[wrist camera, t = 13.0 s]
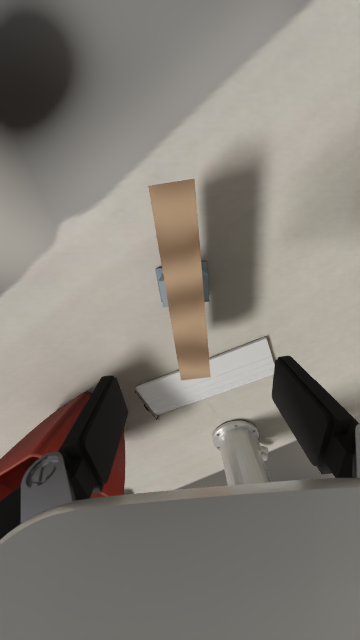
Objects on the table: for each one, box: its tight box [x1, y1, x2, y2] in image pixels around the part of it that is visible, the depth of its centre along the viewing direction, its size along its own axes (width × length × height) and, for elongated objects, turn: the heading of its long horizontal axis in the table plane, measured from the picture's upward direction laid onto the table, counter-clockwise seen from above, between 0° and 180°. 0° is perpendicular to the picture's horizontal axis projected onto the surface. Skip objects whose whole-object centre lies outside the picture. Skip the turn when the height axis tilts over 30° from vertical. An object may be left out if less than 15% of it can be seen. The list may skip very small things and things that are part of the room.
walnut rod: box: [149, 179, 211, 380], centre depth 24 cm, size 24×4×5 cm, turn 8°
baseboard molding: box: [135, 337, 275, 420], centre depth 42 cm, size 31×3×12 cm
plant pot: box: [0, 392, 125, 501], centre depth 39 cm, size 19×19×17 cm
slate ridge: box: [155, 261, 209, 307], centre depth 30 cm, size 6×9×7 cm, turn 98°
